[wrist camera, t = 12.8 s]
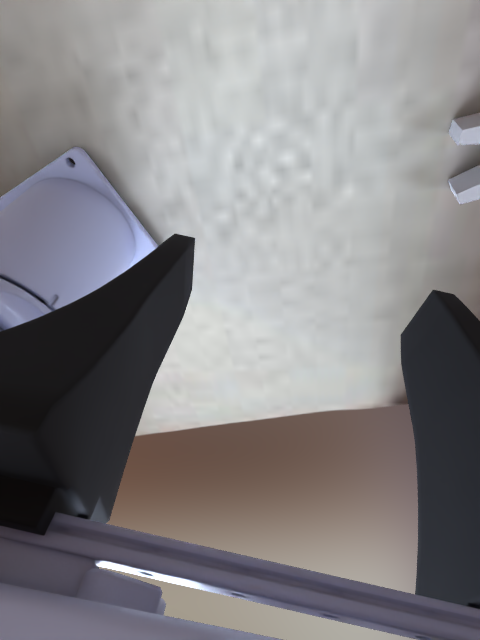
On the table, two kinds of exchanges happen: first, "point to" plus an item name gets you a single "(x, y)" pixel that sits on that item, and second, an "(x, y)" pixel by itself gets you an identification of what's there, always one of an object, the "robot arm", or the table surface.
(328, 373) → the table surface
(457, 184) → the pliers
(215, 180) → the table surface
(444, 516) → the robot arm
